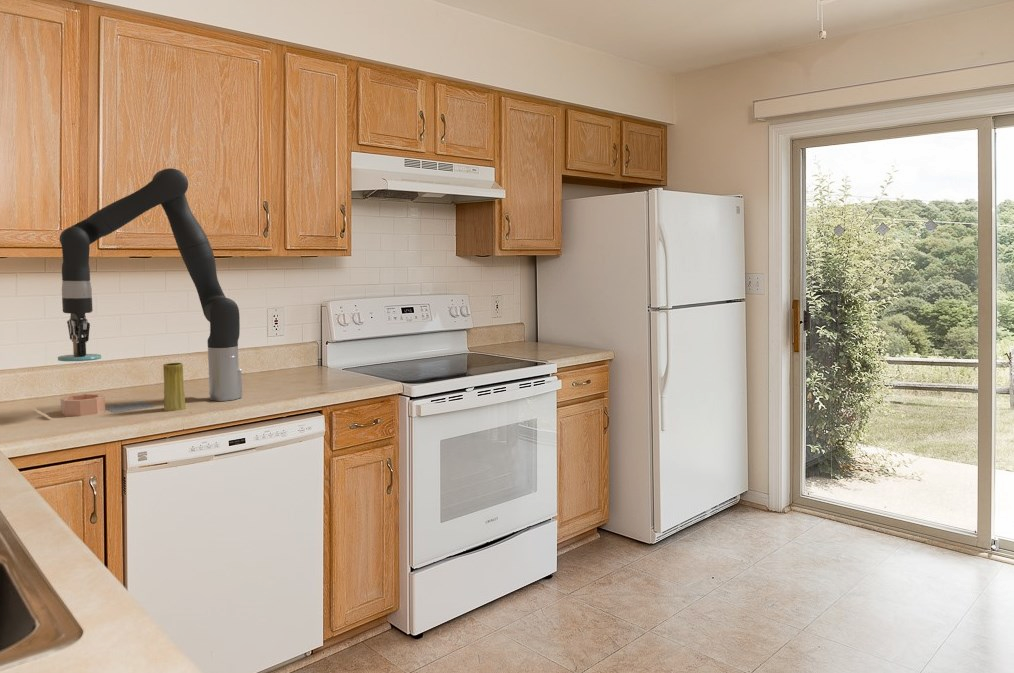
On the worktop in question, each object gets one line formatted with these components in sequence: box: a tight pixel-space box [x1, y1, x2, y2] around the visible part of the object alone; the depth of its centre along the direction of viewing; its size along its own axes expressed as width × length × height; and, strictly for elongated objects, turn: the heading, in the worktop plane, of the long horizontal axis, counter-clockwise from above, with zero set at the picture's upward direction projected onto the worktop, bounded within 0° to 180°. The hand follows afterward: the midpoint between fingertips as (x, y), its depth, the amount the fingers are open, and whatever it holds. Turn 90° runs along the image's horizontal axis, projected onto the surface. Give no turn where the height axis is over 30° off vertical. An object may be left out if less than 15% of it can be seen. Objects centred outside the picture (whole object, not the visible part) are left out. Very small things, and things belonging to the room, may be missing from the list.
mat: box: [105, 401, 156, 413], centre depth 223 cm, size 12×12×1 cm
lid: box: [57, 339, 102, 362], centre depth 214 cm, size 11×11×6 cm
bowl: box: [60, 393, 106, 417], centre depth 216 cm, size 10×10×5 cm
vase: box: [162, 362, 187, 412], centre depth 220 cm, size 6×6×14 cm
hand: (79, 355), depth 214 cm, fingers closed on lid, 3 cm apart
